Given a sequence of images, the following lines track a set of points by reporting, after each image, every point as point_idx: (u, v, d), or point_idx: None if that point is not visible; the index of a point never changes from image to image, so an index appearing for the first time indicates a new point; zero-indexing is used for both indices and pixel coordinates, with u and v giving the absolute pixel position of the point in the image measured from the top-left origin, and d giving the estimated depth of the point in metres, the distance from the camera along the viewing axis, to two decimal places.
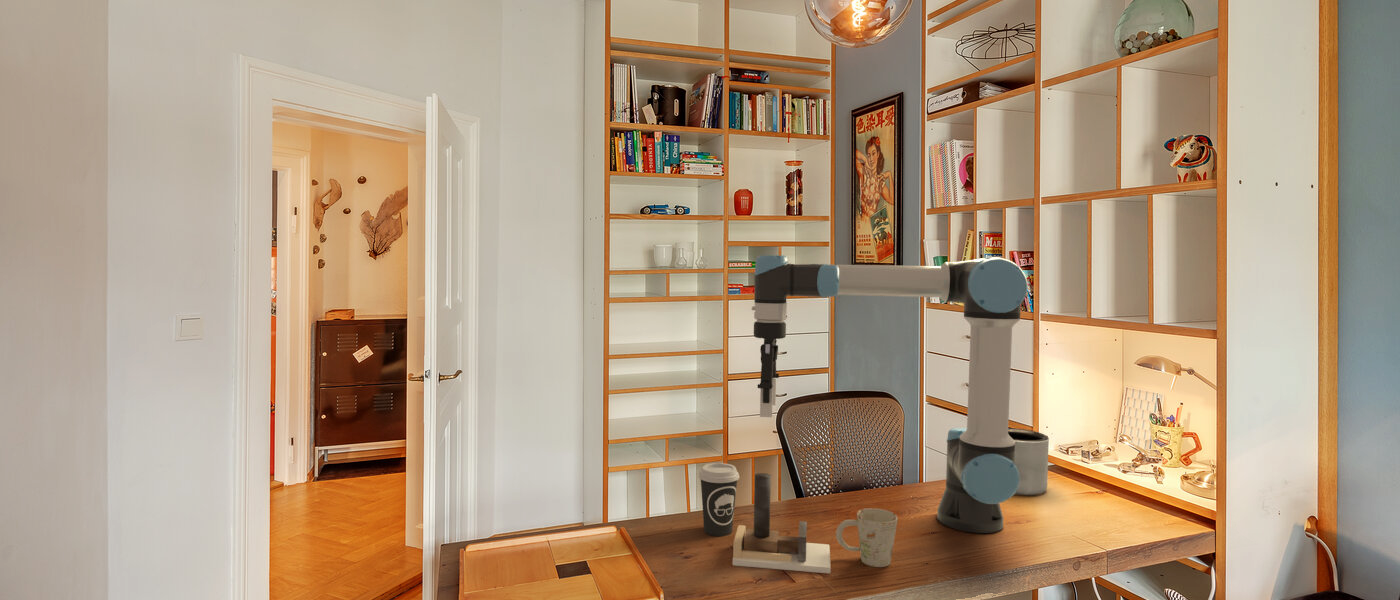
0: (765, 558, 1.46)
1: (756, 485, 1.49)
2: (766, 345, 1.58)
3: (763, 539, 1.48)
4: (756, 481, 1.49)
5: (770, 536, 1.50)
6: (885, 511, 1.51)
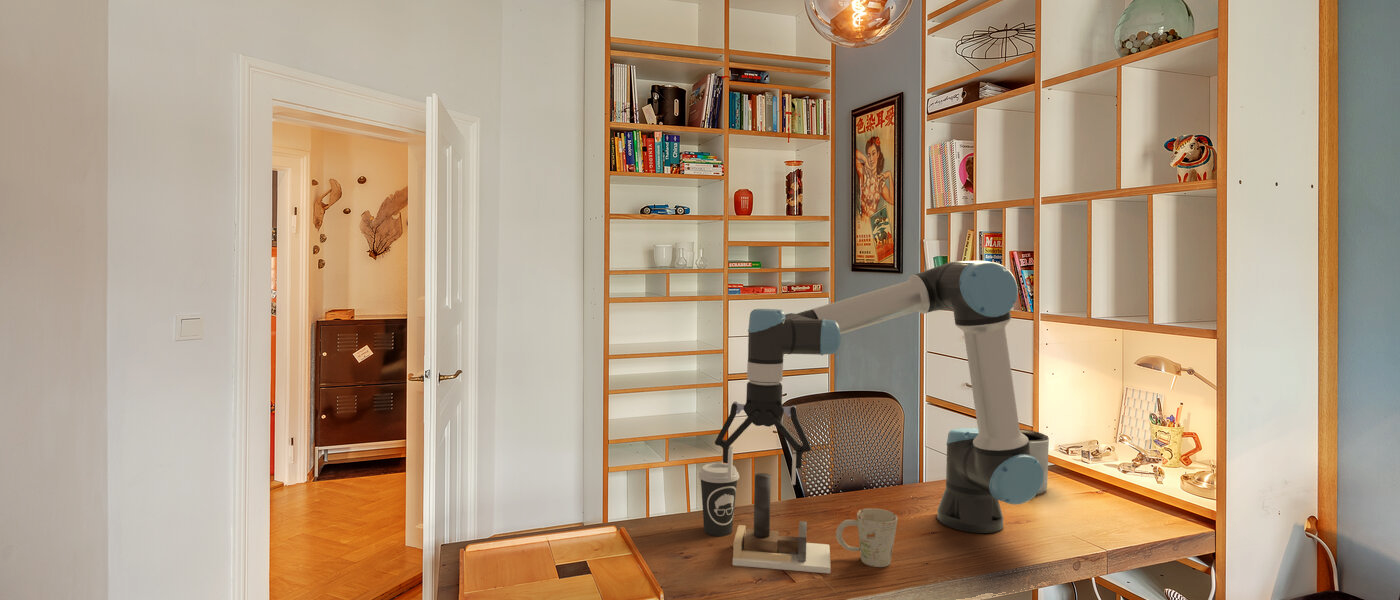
0: (765, 558, 1.46)
1: (756, 485, 1.49)
2: (733, 403, 1.50)
3: (763, 539, 1.48)
4: (756, 481, 1.49)
5: (770, 536, 1.50)
6: (885, 511, 1.51)
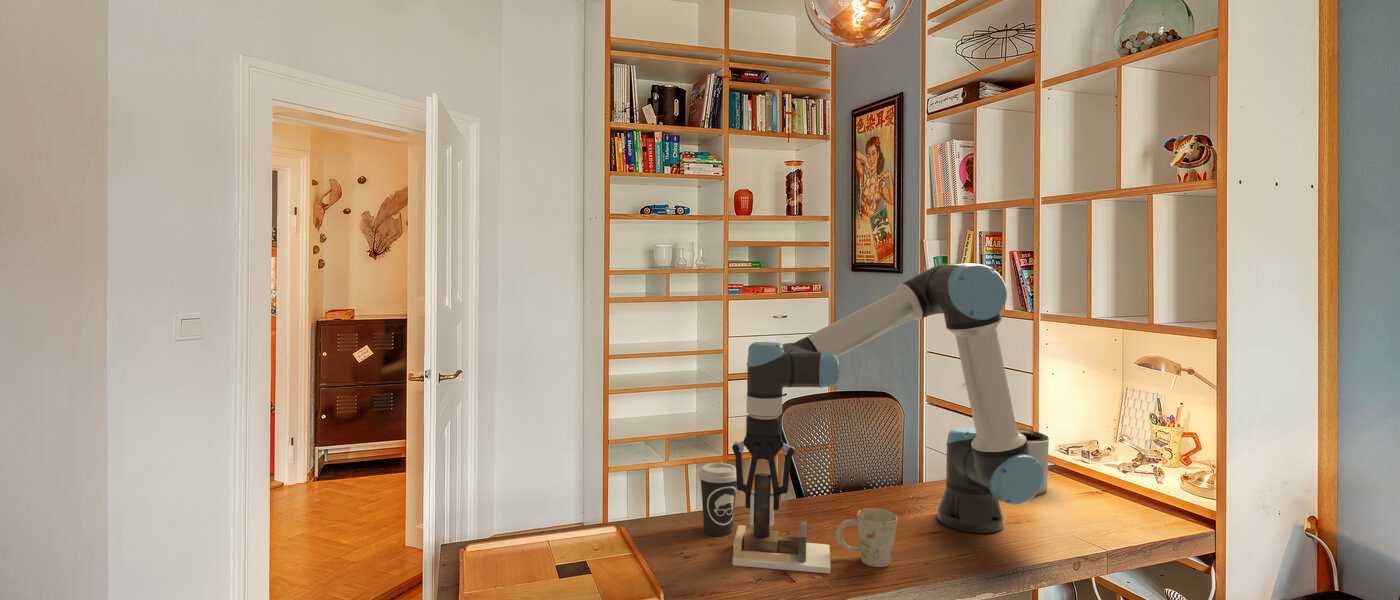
0: (765, 558, 1.46)
1: (756, 485, 1.49)
2: (733, 445, 1.51)
3: (763, 539, 1.48)
4: (756, 481, 1.49)
5: (770, 536, 1.50)
6: (885, 511, 1.51)
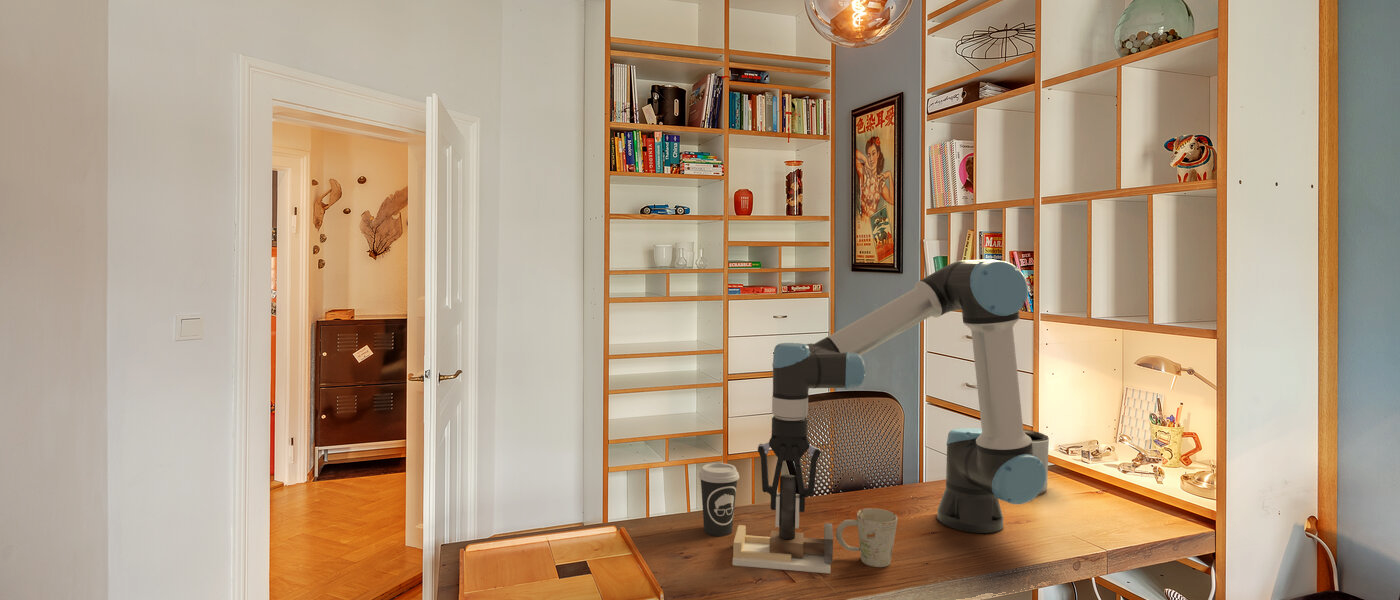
0: (765, 558, 1.46)
1: (782, 487, 1.48)
2: None
3: (789, 541, 1.47)
4: (782, 483, 1.48)
5: (796, 538, 1.49)
6: (885, 511, 1.51)
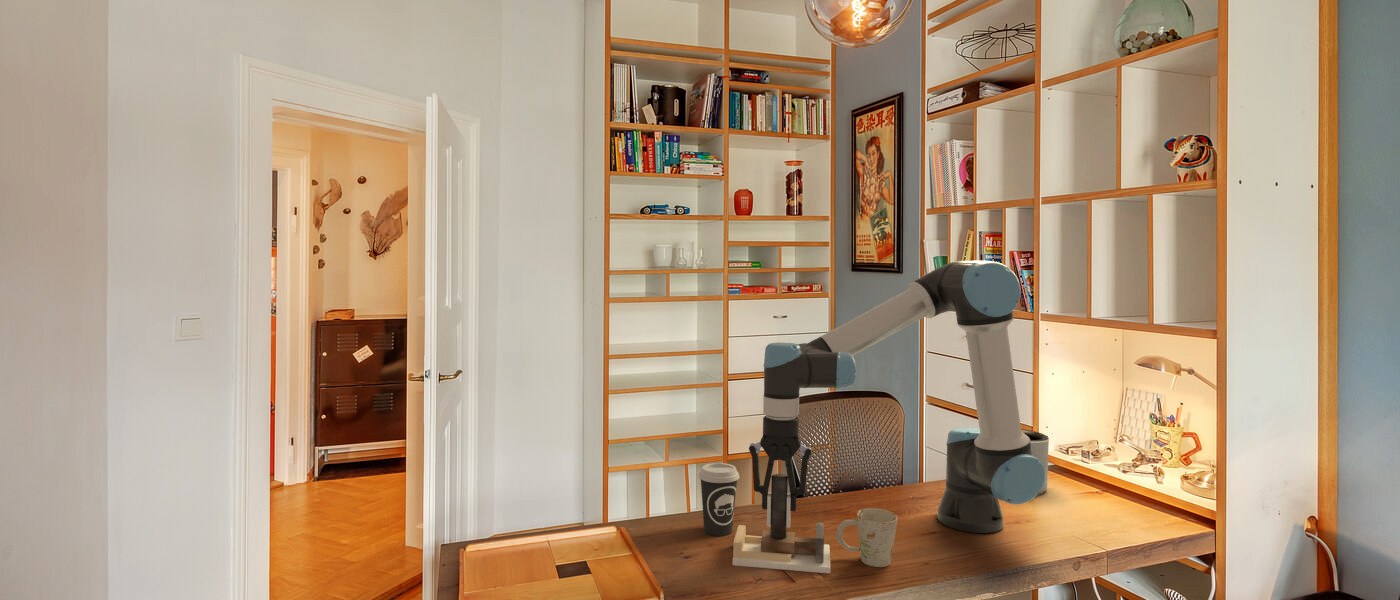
0: (765, 558, 1.46)
1: (773, 486, 1.48)
2: None
3: (780, 540, 1.47)
4: (773, 482, 1.48)
5: (787, 537, 1.49)
6: (885, 511, 1.51)
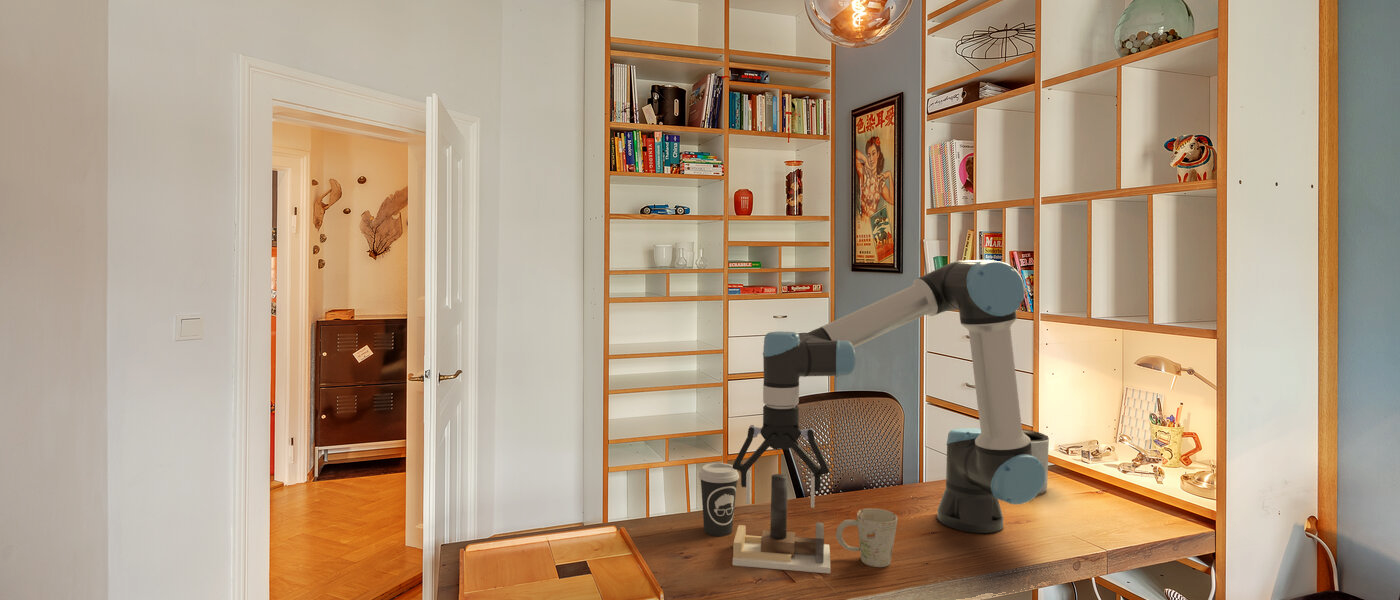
0: (765, 558, 1.46)
1: (773, 486, 1.48)
2: (749, 427, 1.50)
3: (780, 540, 1.47)
4: (773, 482, 1.48)
5: (787, 537, 1.49)
6: (885, 511, 1.51)
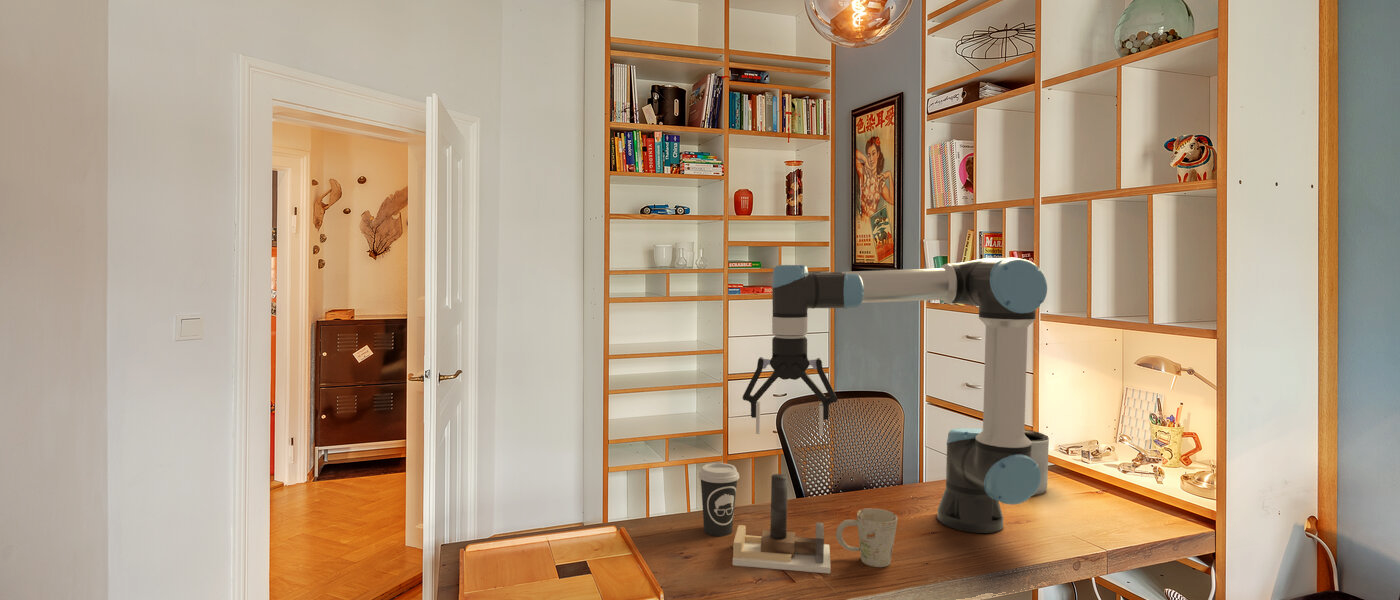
0: (765, 558, 1.46)
1: (773, 486, 1.48)
2: (759, 358, 1.53)
3: (780, 540, 1.47)
4: (773, 482, 1.48)
5: (787, 537, 1.49)
6: (885, 511, 1.51)
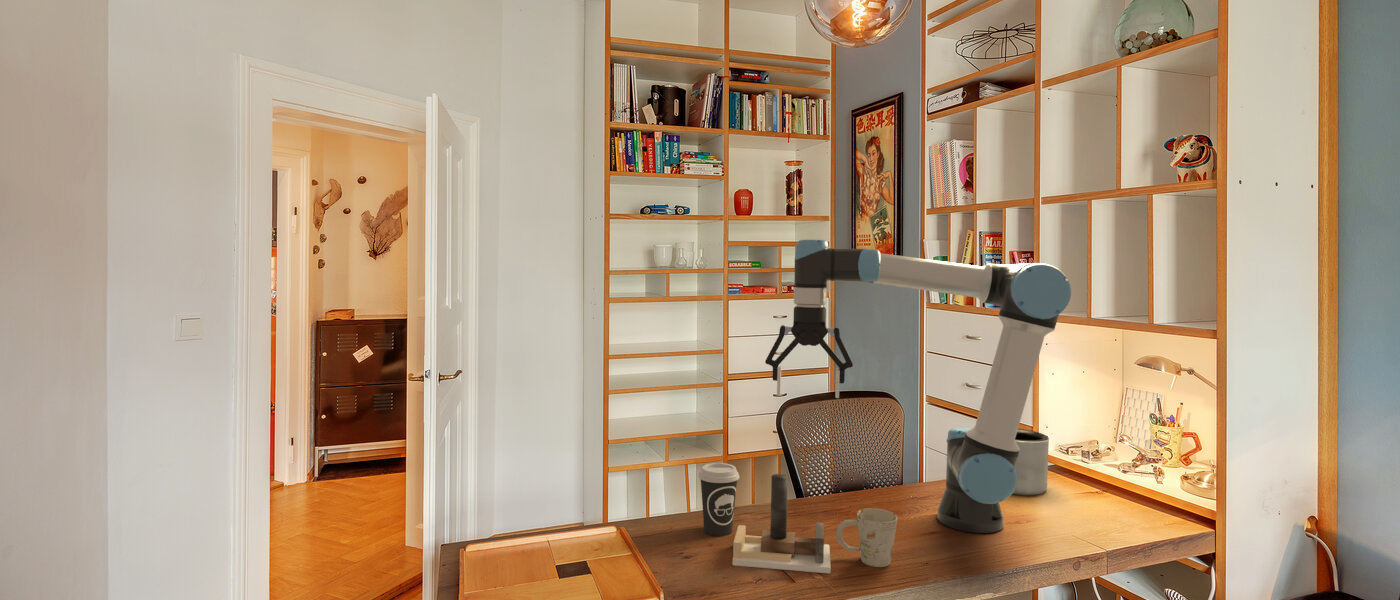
0: (765, 558, 1.46)
1: (773, 486, 1.48)
2: (781, 326, 1.66)
3: (780, 540, 1.47)
4: (773, 482, 1.48)
5: (787, 537, 1.49)
6: (885, 511, 1.51)
